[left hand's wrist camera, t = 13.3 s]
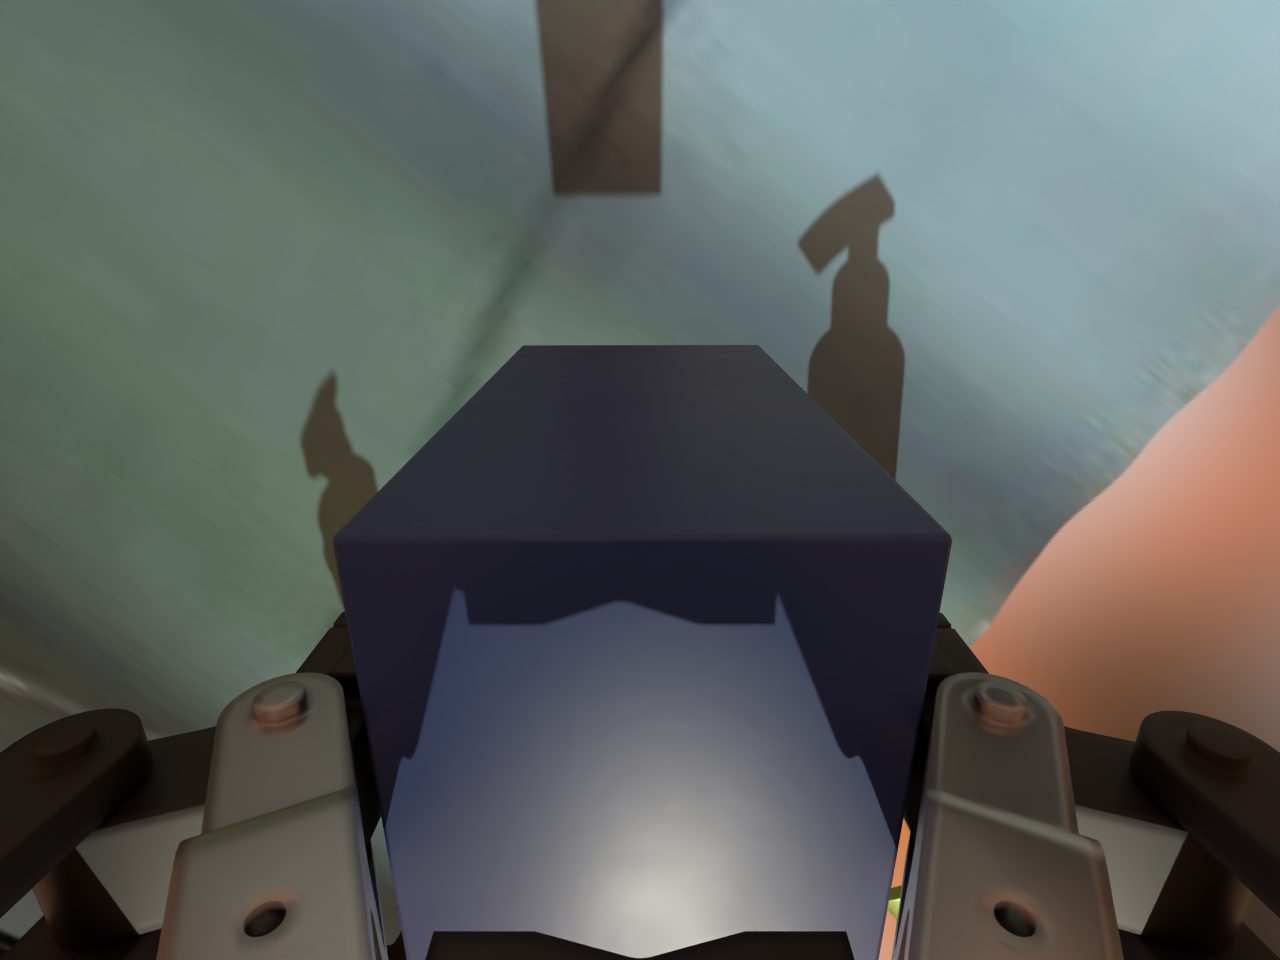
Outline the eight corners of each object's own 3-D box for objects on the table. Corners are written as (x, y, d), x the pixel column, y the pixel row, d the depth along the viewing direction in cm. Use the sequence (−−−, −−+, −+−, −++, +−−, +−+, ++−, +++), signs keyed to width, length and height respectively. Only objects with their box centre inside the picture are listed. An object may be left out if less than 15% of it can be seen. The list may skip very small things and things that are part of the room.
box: (521, 345, 17) (328, 537, 7) (759, 344, 17) (956, 535, 7) (565, 1051, 27) (517, 1592, 16) (717, 1050, 27) (768, 1592, 16)
